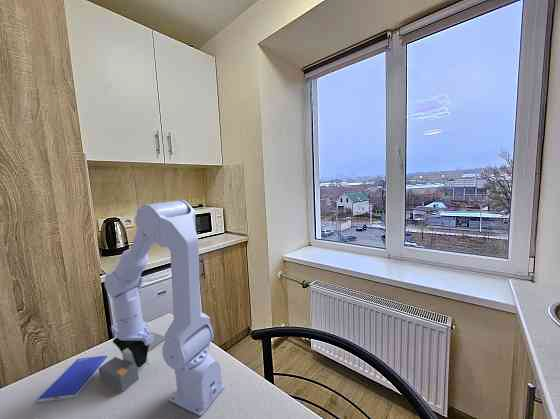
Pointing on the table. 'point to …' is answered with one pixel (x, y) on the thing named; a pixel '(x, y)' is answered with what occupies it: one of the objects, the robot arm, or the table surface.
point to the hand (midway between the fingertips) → (136, 362)
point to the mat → (156, 340)
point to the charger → (132, 358)
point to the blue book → (73, 379)
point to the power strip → (119, 374)
